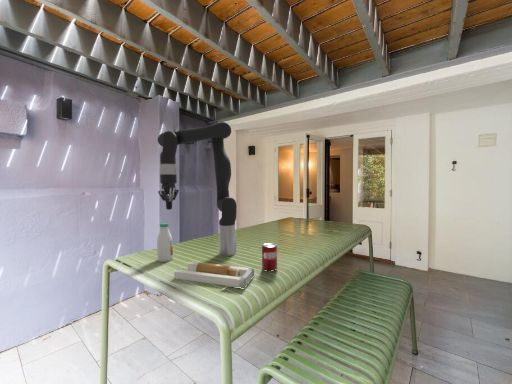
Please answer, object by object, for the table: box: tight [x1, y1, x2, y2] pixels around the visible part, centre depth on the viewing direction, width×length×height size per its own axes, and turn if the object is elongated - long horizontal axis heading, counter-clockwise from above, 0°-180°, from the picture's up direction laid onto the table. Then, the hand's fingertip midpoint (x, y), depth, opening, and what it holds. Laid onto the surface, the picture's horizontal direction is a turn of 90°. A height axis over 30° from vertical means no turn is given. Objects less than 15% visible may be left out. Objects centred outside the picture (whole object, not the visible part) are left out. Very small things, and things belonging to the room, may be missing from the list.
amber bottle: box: [196, 262, 240, 277], centre depth 104 cm, size 6×6×19 cm
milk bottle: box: [156, 222, 174, 263], centre depth 129 cm, size 8×8×20 cm
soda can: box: [261, 242, 278, 271], centre depth 115 cm, size 7×7×12 cm
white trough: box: [173, 261, 255, 289], centre depth 105 cm, size 32×13×4 cm, turn 73°
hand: (169, 209), depth 117 cm, fingers closed
